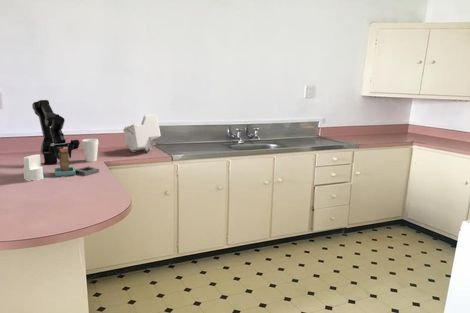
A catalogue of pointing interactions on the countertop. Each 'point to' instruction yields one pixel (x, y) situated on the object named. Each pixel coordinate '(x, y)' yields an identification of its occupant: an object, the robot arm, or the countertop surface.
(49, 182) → the countertop surface
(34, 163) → the cylinder with rectangular tab
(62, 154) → the pin
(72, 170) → the tray
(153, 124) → the white notched angular block
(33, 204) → the countertop surface
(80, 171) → the grey square flat frame
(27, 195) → the countertop surface
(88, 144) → the foam cup
